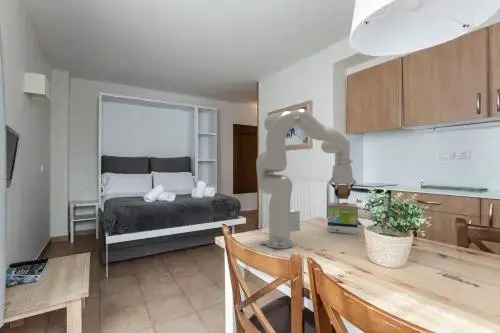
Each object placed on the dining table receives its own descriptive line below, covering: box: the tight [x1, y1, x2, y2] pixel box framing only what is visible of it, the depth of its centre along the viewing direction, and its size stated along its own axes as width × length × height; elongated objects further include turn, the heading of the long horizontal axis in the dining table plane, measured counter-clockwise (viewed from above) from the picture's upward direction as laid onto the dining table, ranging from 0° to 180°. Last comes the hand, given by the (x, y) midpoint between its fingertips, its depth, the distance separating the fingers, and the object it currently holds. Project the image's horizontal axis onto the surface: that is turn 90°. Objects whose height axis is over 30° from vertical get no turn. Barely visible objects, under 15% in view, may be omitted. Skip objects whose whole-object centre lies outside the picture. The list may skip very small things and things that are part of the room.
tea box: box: [327, 201, 359, 235], centre depth 142 cm, size 15×10×15 cm
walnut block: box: [336, 184, 349, 200], centre depth 142 cm, size 5×5×7 cm
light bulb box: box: [290, 207, 301, 232], centre depth 148 cm, size 11×7×11 cm, turn 25°
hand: (342, 196), depth 142 cm, fingers closed on walnut block, 5 cm apart
